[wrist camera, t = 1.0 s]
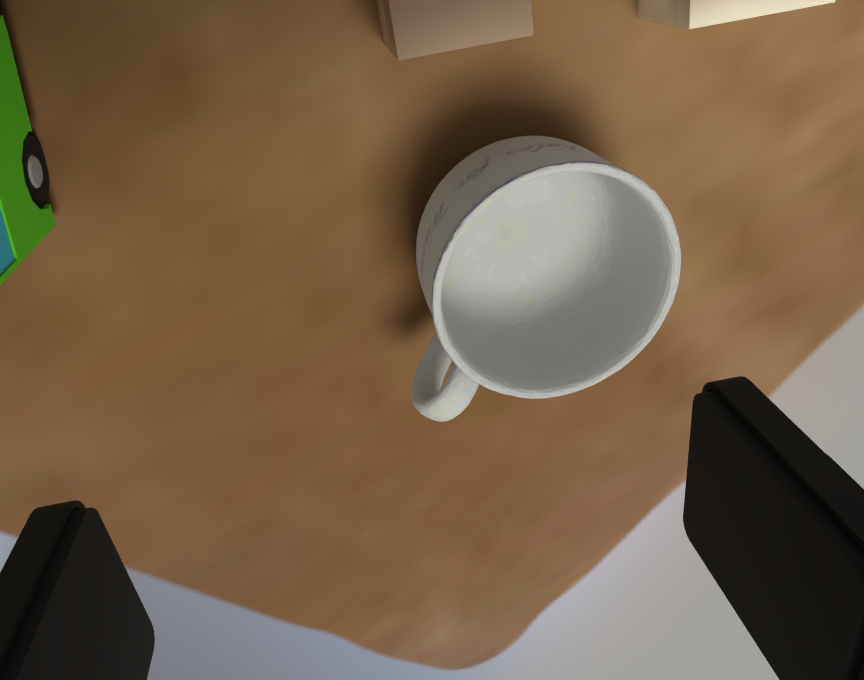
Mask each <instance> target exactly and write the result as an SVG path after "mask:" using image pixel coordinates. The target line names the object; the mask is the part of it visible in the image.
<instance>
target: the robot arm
mask: <svg viewBox="0 0 864 680" xmlns="http://www.w3.org/2000/svg"><path fill="white" fill-rule="evenodd" d="M683 522H684V527H685V531H686V534H687V536H688V538H689V540H690V542H691V543H692V545H693V546H694V548H695V549H696V551H697V553H698V554H699V556H700V557H701V559H702V560H703V562H704V563H705V565H706V567H707V568H708V570H709V571H710V573H711V574H712V576H713V577H714V579H715V580H716V582H717V583H718V585H719V587H720V588H721V590H722V591H723V592H724V594H725V596H726V598H727V599H728V601H729V602H730V604H731V605H732V607H733V608H734V610H735V611H736V613H737V615H738V616H739V618H740V619H741V621H742V622H743V624H744V625H745V627H746V628H747V630H748V632H749V633H750V634H751V636H752V638H753V639H754V641H755V642H756V644H757V646H758V647H759V649H760V650H761V652H762V653H763V655H764V656H765V658H766V659H767V661H768V662H769V664H770V666H771V667H772V669H773V670H774V672H775V673H776V675H777V676H778V678H779V680H864V489H863V488H861V486H859V484H857V483H856V482H855V481H854V480H853V479H852V478H851V477H850V476H849V475H848V474H847V473H846V472H845V471H844V470H843V469H842V468H841V467H840V466H839V465H838V464H837V463H836V462H835V461H834V460H832V458H830V457H829V456H828V455H827V454H825V453H824V452H823V451H822V450H821V449H820V448H819V447H818V446H817V445H816V444H815V443H814V442H813V441H812V440H811V439H810V438H809V437H808V436H807V435H806V434H805V433H804V432H802V430H801V429H799V428H798V427H797V426H796V425H795V424H794V423H793V422H792V421H791V420H790V419H789V418H788V417H787V416H786V415H785V414H784V413H783V412H782V411H781V410H780V409H779V408H778V407H777V406H776V405H774V403H772V401H770V400H769V399H768V398H767V397H766V396H765V395H764V394H763V393H762V392H761V391H760V390H759V389H758V388H757V387H756V386H755V385H754V384H753V383H752V382H751V381H750V380H748V379H747V378H746V377H741V376H740V377H735V378H729V379H724V380H718V381H713V382H708V383H706V384H705V386H704V387H703V390H702V393H699V394H696V395H695V397H694V400H693V408H692V420H691V431H690V443H689V455H688V466H687V478H686V489H685V502H684V513H683ZM154 640H155V638H154V630H153V626H152V623H151V621H150V619H149V617H148V614H147V612H146V610H145V608H144V606H143V604H142V602H141V600H140V598H139V596H138V594H137V592H136V590H135V588H134V585H133V583H132V581H131V579H130V577H129V575H128V573H127V571H126V569H125V567H124V565H123V563H122V561H121V559H120V557H119V554H118V552H117V550H116V548H115V546H114V544H113V542H112V540H111V538H110V536H109V534H108V532H107V530H106V528H105V525H104V523H103V521H102V519H101V517H100V515H99V513H98V512H97V510H96V509H94V508H85V506H84V505H83V504H82V503H81V502H80V501H70V502H65V503H59V504H54V505H49V506H43V507H38V508H36V509H35V510H33V512H32V513H31V514H30V516H29V518H28V520H27V522H26V524H25V526H24V528H23V530H22V532H21V534H20V536H19V538H18V539H17V541H16V544H15V545H14V547H13V549H12V551H11V553H10V555H9V557H8V559H7V561H6V563H5V565H4V567H3V569H2V571H1V572H0V680H147V676H148V672H149V667H150V663H151V659H152V655H153V650H154Z"/></svg>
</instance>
